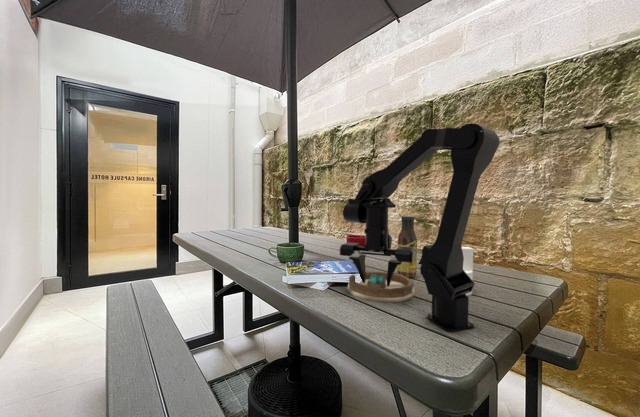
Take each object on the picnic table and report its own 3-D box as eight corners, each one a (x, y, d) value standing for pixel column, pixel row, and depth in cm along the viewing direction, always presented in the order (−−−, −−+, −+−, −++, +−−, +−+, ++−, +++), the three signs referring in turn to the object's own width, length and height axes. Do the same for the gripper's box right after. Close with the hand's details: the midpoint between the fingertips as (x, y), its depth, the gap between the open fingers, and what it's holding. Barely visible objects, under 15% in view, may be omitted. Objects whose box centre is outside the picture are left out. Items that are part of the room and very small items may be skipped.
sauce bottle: (412, 279, 86) (413, 216, 85) (393, 276, 90) (394, 216, 89) (419, 275, 91) (420, 216, 90) (401, 272, 95) (401, 215, 94)
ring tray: (429, 297, 70) (429, 284, 70) (366, 306, 64) (366, 291, 64) (389, 278, 87) (390, 267, 87) (337, 283, 81) (337, 272, 81)
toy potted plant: (387, 293, 70) (388, 277, 70) (372, 295, 69) (372, 278, 69) (378, 288, 74) (379, 272, 74) (364, 289, 73) (364, 273, 73)
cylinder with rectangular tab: (463, 285, 80) (465, 245, 80) (478, 296, 71) (479, 251, 71) (432, 284, 81) (433, 244, 81) (442, 295, 72) (443, 250, 72)
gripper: (418, 224, 74) (417, 281, 75) (353, 221, 82) (352, 272, 83) (412, 227, 64) (411, 293, 65) (339, 224, 72) (338, 282, 73)
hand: (376, 284), depth 71 cm, fingers open, 6 cm apart
